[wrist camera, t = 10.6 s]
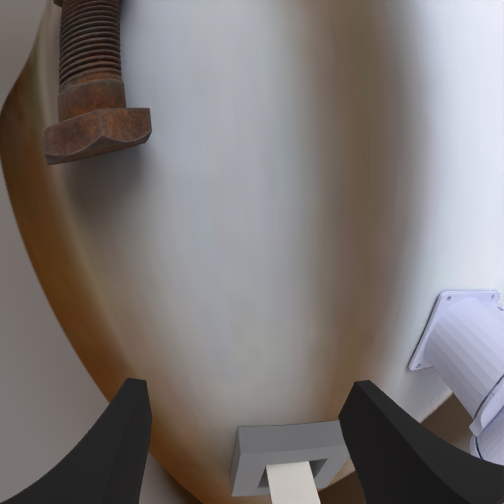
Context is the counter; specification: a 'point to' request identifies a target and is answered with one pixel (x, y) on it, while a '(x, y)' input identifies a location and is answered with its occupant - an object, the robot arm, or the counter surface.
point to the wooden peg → (292, 483)
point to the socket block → (286, 454)
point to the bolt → (92, 87)
